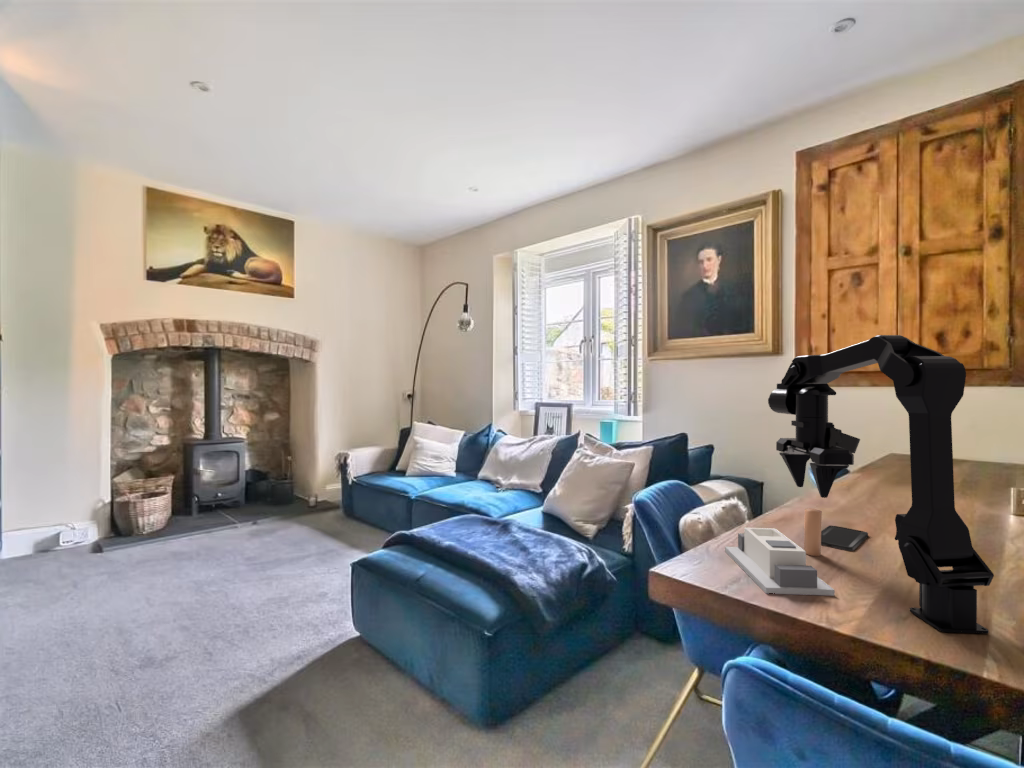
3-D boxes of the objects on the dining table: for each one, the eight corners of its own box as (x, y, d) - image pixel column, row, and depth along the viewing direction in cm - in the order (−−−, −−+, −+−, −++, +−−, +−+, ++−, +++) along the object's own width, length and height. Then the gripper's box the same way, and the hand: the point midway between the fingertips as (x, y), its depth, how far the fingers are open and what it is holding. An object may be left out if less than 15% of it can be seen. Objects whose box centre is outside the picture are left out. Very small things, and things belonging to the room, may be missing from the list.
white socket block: (805, 579, 85) (805, 549, 85) (769, 578, 85) (769, 548, 85) (775, 553, 97) (775, 527, 97) (744, 551, 98) (744, 526, 98)
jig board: (834, 595, 81) (834, 571, 80) (766, 593, 82) (766, 569, 82) (779, 552, 100) (779, 533, 100) (724, 551, 101) (724, 532, 101)
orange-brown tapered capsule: (823, 556, 98) (824, 512, 98) (808, 556, 98) (809, 512, 98) (815, 550, 101) (816, 508, 101) (800, 550, 101) (801, 508, 101)
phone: (869, 532, 111) (852, 548, 101) (869, 537, 111) (852, 553, 101) (829, 524, 117) (809, 539, 107) (829, 529, 117) (809, 544, 107)
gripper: (884, 420, 89) (883, 504, 90) (826, 413, 108) (826, 482, 108) (821, 420, 90) (820, 503, 91) (775, 413, 109) (775, 482, 109)
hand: (811, 491), depth 100 cm, fingers open, 9 cm apart
